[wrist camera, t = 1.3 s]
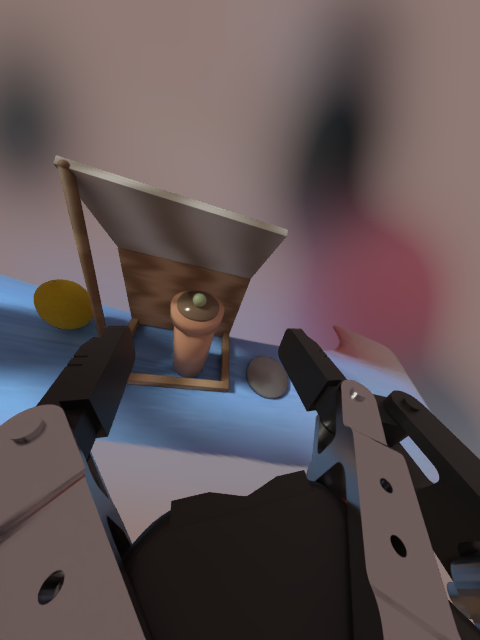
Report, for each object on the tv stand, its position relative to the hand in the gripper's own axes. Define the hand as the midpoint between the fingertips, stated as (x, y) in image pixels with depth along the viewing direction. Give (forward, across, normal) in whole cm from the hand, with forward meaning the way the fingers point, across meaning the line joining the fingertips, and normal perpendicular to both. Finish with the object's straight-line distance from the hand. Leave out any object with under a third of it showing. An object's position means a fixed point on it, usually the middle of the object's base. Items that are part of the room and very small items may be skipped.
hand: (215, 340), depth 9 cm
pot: (+12, +1, +15) cm, 20 cm away
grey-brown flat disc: (+10, -11, +17) cm, 22 cm away
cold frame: (+14, +3, +15) cm, 21 cm away
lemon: (+18, +17, +13) cm, 28 cm away
